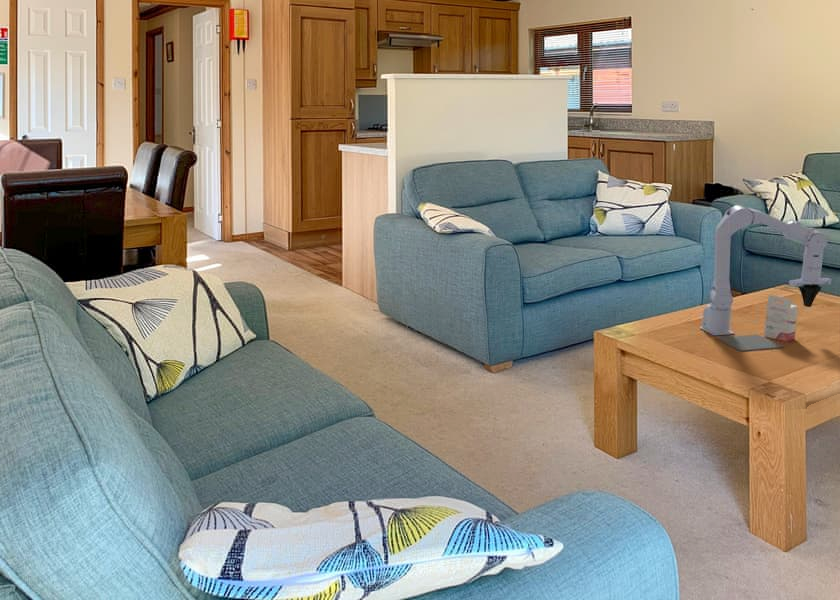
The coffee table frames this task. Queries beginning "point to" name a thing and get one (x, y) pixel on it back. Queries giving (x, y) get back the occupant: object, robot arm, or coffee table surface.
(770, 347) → the mat
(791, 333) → the ink cartridge box
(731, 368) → the coffee table surface
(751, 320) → the coffee table surface
